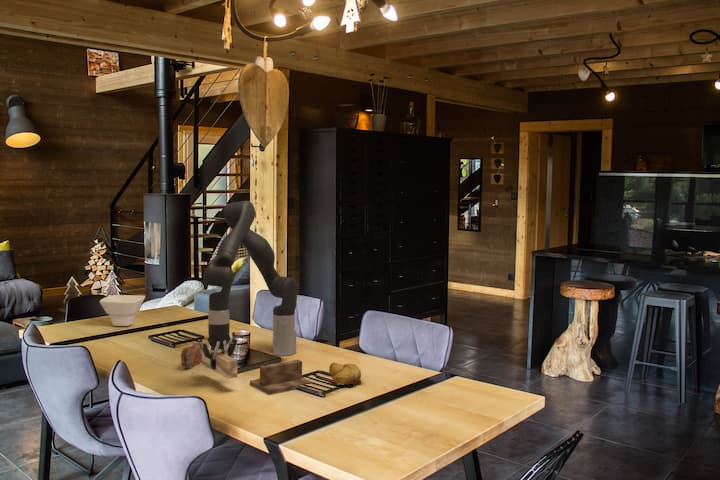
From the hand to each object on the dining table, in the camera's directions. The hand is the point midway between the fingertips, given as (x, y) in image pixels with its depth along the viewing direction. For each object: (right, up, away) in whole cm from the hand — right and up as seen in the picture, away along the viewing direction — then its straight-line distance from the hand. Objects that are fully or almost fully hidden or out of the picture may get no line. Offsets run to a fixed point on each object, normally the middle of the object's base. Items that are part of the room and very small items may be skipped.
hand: (219, 367), depth 241 cm
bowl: (-68, +3, +92) cm, 114 cm away
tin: (-16, -4, +24) cm, 29 cm away
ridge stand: (+23, -6, 0) cm, 23 cm away
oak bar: (0, -1, 0) cm, 1 cm away
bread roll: (+47, -7, +5) cm, 47 cm away
